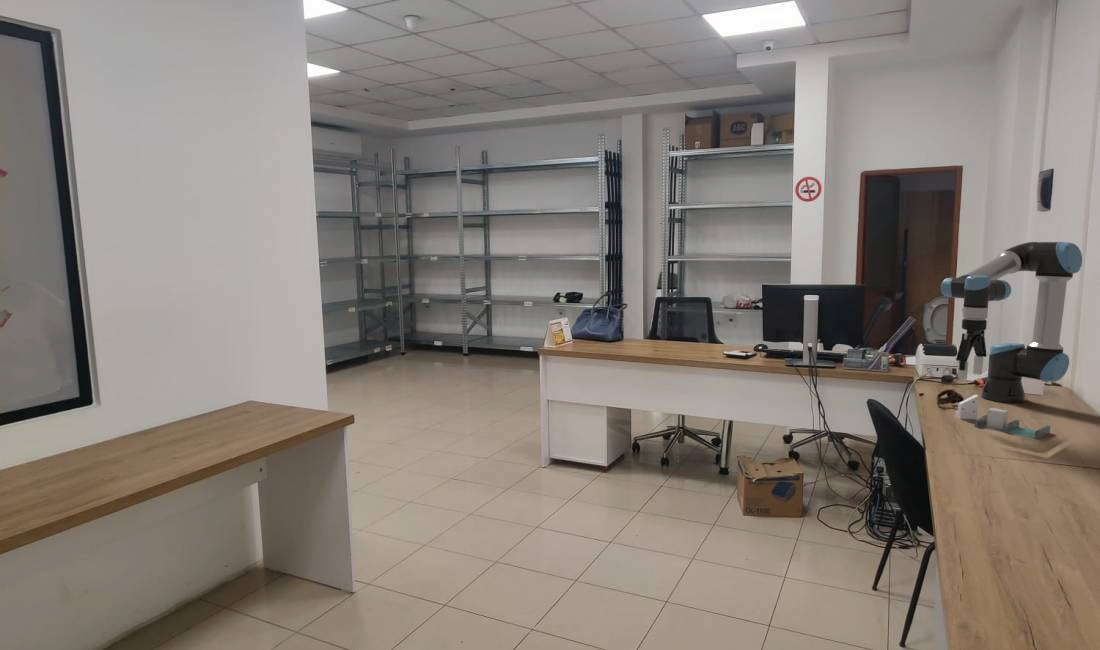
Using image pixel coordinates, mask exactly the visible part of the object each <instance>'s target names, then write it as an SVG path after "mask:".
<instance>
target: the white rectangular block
mask: <svg viewBox="0 0 1100 650" xmlns="http://www.w3.org/2000/svg"><path fill="white" fill-rule="evenodd" d="M987 414H988V415H987ZM987 414H986V415H987V426H990V427H995V428H1000V429H1004V425H1006V424H1008V416H1009V410H1005V409H1000V408H996V407H990V408H988V409H987Z"/></svg>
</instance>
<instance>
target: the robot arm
mask: <svg viewBox="0 0 1100 650" xmlns="http://www.w3.org/2000/svg"><path fill="white" fill-rule="evenodd" d="M1082 265H1083V255H1082V251H1081V250H1080V247H1079V246H1077V244H1075V243H1073V242H1066V241H1065V242H1064V241H1042V242H1041V241H1029V242H1024V243H1021V244H1017V245H1015V246H1012V247H1009V248H1006V249H1005V250H1003V251H1001V252H1000V253H998V254H997V256H996V257H994V258H993V259H991V260H989V261H987V262H985V263H984V264H982V265H979V266H978V267H976V268H974V269H972V270H970V271H968V272H966V273H965V274H963V275H960V276H958V277H946V278H945V279H943V281H942V282H941V286H940V290H941V291H940V292H941V295H943V296H944V297H946V298H952V299H963V308H962V309H961V312H962V317H963V319H962V320H961V328H962V330H966V333H962V334H961V340H960V344H959V348H958V351H957V354H956V358H955V361H957V362H958V374H957V379H958V380H964V381H965V380H968V372H969V371H968V368H969V361H968V359H969V357H970V354H971V351H972V349H973V350H974V353H975V356H973V357H974V358H973V370H972V373H973V375H974V374H977V375H983V367H984V357H985V358H986V357H988V367H987V368H988V370H987V378H986V381H985V383H984V385H983V388H982V390H981V391H980V393H981V395H980V396H981V398H983V399H985V398H986V400H990V401H993V402H1001V403H1011V404H1012V403H1015V404H1018V403H1024V402H1025V401H1026V394H1025V389H1024V386H1023V384H1022V383H1023V382H1022V380H1023V379H1022V378H1026V379H1032V380H1038V381H1041V382H1051V383H1055V382H1058V381H1060V380H1061V379H1062V378H1063V377H1064V376H1065V375H1066V373H1068V372H1067V371H1068V370H1069V366H1070V357H1069V355H1068V354H1067V353H1064V347H1063V346H1062V345H1061V344H1060V340H1061V332H1062V324H1063V315H1064V307H1065V301H1066V300H1065V298H1066V293H1067V285H1068V282H1069V281H1070V280H1072V279H1073V275H1074V274H1077V273H1078V272H1079V271H1080V270H1081V267H1082ZM1019 272H1035V278H1036V279H1037V280H1038V282H1039V283H1038V292H1037V299H1036V306H1035V307H1036V308H1035V313H1034V314H1035V315H1034V324H1033V331H1032V338H1031V339H1032V340H1031V341H1030V342H1029V343H1027V344H1026V346H1025V344H1024V343H1018V342H1017V343H1013V342H1012V343H1008V342H1007V343H1005V342H1004V343H995V344H993V345H991V346H990V347H989V348H990V349H989V354H988V353H987V348H986V347H987V345H986V338H985V333H986V332H985V331H986V330H987V325H988V324H987V323H988V321H987V318H988V313H989V302H1000V301H1002V300H1006V299H1008V297H1010V295H1011V293H1012V287H1011V284H1010V283H1009V282H1008V281H1007V280H1003V279H1000V278H1003V277H1004V276H1006V275H1013V274H1015V273H1019ZM987 354H988V355H987Z"/></svg>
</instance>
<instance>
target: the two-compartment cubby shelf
mask: <svg viewBox="0 0 1100 650" xmlns="http://www.w3.org/2000/svg"><path fill="white" fill-rule="evenodd" d="M987 415H988V413H986V414H984V415H982V416H980V417H977V419H974V427H975V428H980V429H986V430H991V431H996V432H1001V433H1005V434H1009V435H1013V436H1014V435H1015V436H1020V437H1024V438H1025V437H1026V438H1030V439H1035V440H1039V439H1042V438H1043V437H1045V436H1047V435H1049V434H1051V425H1047V424H1046V425H1045V426H1043V427H1041V428H1039V429H1031V428H1026V427H1022V426H1020V422H1021V421H1020V420H1019V419H1015V420H1013V421H1011V422H1009V423H1008V422H1007V424H1006V425H1004V429H1000V428H995V427H990V426H987Z"/></svg>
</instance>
